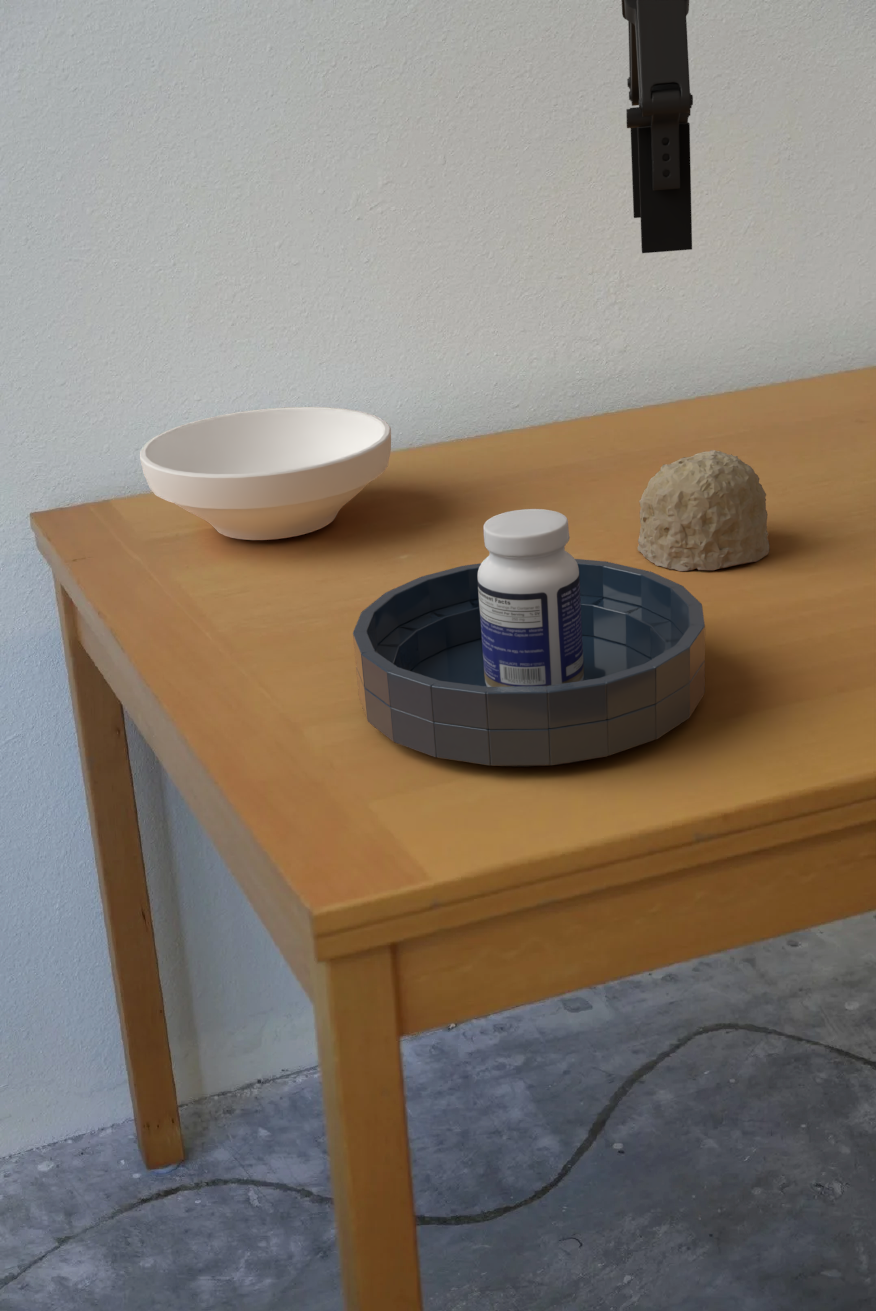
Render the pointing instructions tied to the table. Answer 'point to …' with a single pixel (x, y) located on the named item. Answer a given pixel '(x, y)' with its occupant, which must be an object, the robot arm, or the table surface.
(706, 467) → the beige rock
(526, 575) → the pill bottle
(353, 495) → the bowl
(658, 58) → the robot arm
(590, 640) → the blue bowl
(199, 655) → the table surface
